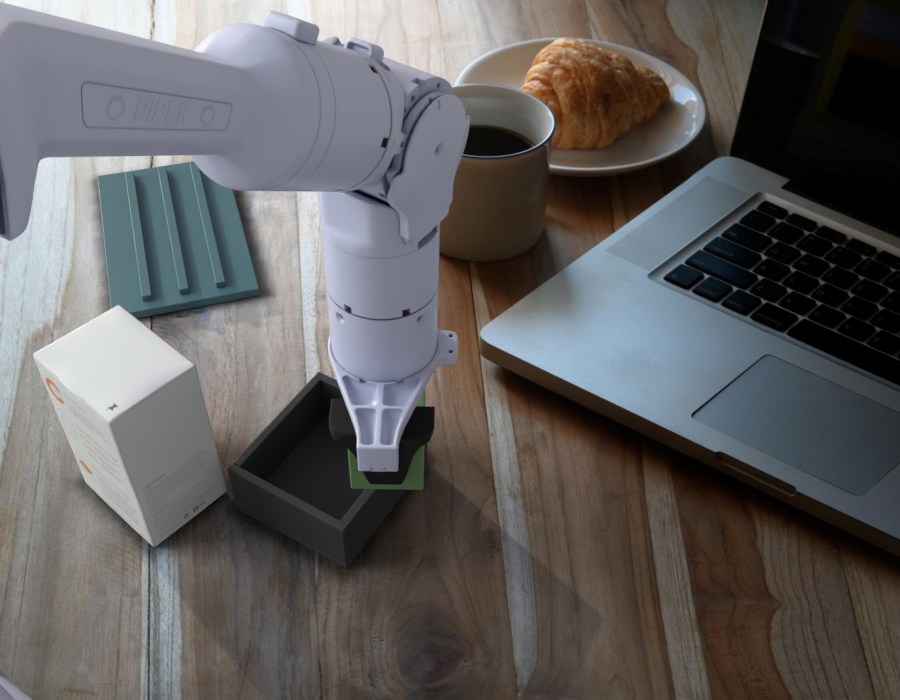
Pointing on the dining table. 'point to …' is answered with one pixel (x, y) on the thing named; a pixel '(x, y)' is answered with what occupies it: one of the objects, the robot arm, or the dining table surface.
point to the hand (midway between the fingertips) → (387, 447)
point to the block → (411, 482)
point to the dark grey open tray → (309, 479)
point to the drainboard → (172, 241)
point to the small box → (134, 421)
